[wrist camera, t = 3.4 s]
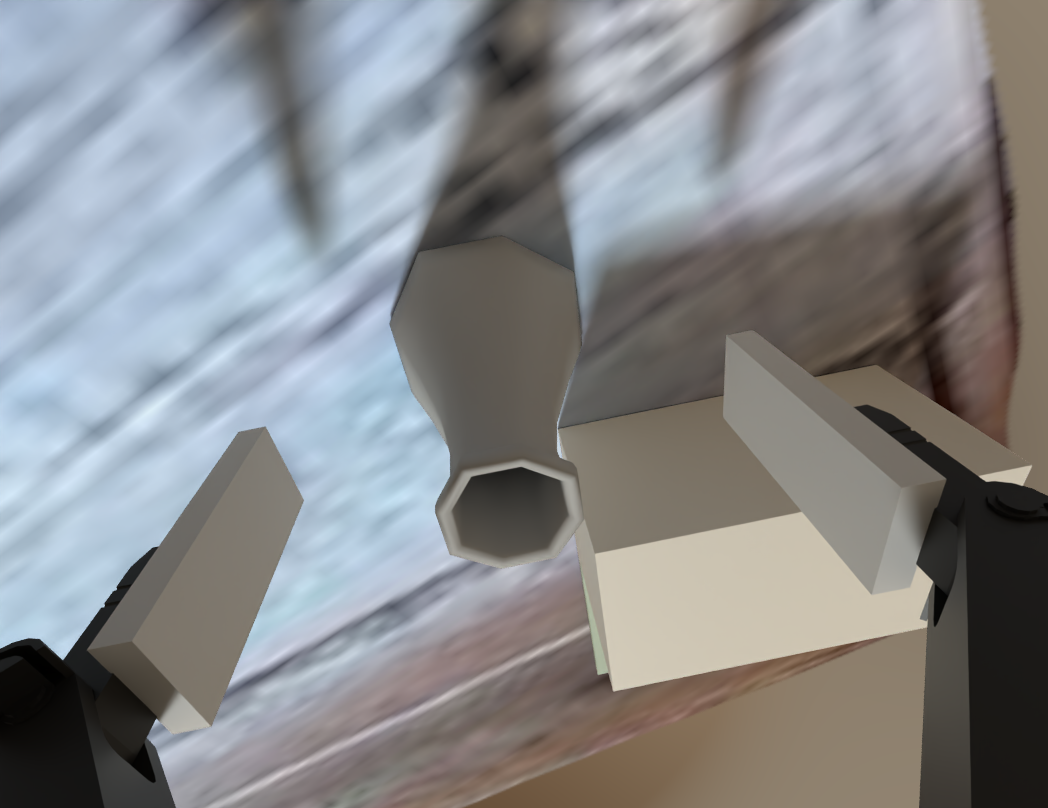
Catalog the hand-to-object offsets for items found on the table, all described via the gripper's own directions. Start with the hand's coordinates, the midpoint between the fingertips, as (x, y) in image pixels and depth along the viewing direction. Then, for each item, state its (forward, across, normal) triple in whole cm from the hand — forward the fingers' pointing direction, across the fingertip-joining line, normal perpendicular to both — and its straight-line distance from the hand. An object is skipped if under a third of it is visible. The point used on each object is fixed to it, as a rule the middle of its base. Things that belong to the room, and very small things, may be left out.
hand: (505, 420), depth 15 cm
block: (+6, +9, -8) cm, 14 cm away
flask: (+6, 0, 0) cm, 6 cm away
